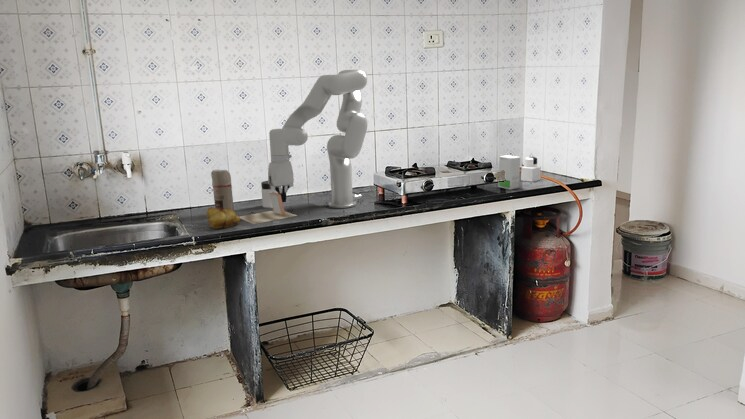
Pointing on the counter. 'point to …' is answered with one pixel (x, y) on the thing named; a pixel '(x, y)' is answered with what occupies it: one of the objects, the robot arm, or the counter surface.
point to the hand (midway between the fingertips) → (282, 201)
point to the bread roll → (222, 218)
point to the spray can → (222, 189)
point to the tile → (277, 203)
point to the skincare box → (510, 171)
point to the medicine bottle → (530, 170)
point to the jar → (266, 194)
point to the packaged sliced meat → (265, 217)
